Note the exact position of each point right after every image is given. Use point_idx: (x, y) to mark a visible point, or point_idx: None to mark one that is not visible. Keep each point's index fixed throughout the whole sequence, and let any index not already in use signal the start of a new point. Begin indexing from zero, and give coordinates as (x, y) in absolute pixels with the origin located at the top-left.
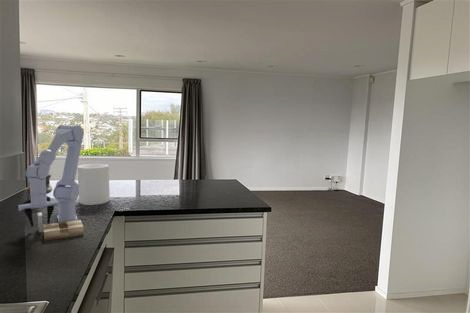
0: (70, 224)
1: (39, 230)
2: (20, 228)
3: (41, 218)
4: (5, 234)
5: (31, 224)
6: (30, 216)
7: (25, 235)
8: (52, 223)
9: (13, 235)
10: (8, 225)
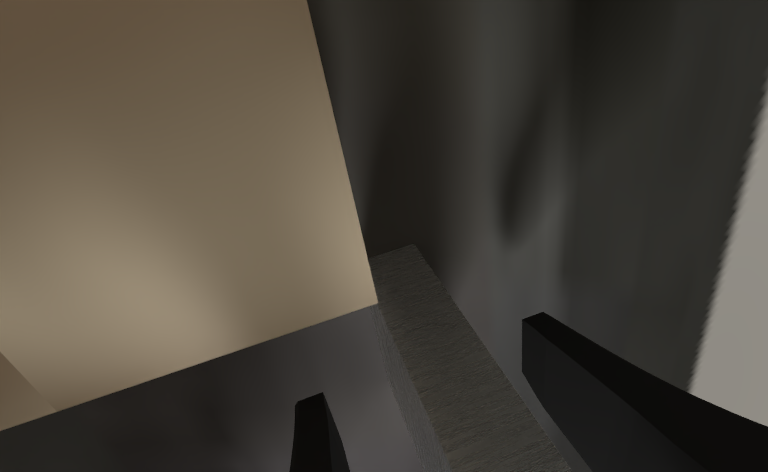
0: None
1: (411, 262)
2: None
3: (462, 449)
4: (726, 228)
5: (566, 329)
6: (725, 449)
7: (564, 150)
8: (187, 357)
9: (675, 181)
10: None
